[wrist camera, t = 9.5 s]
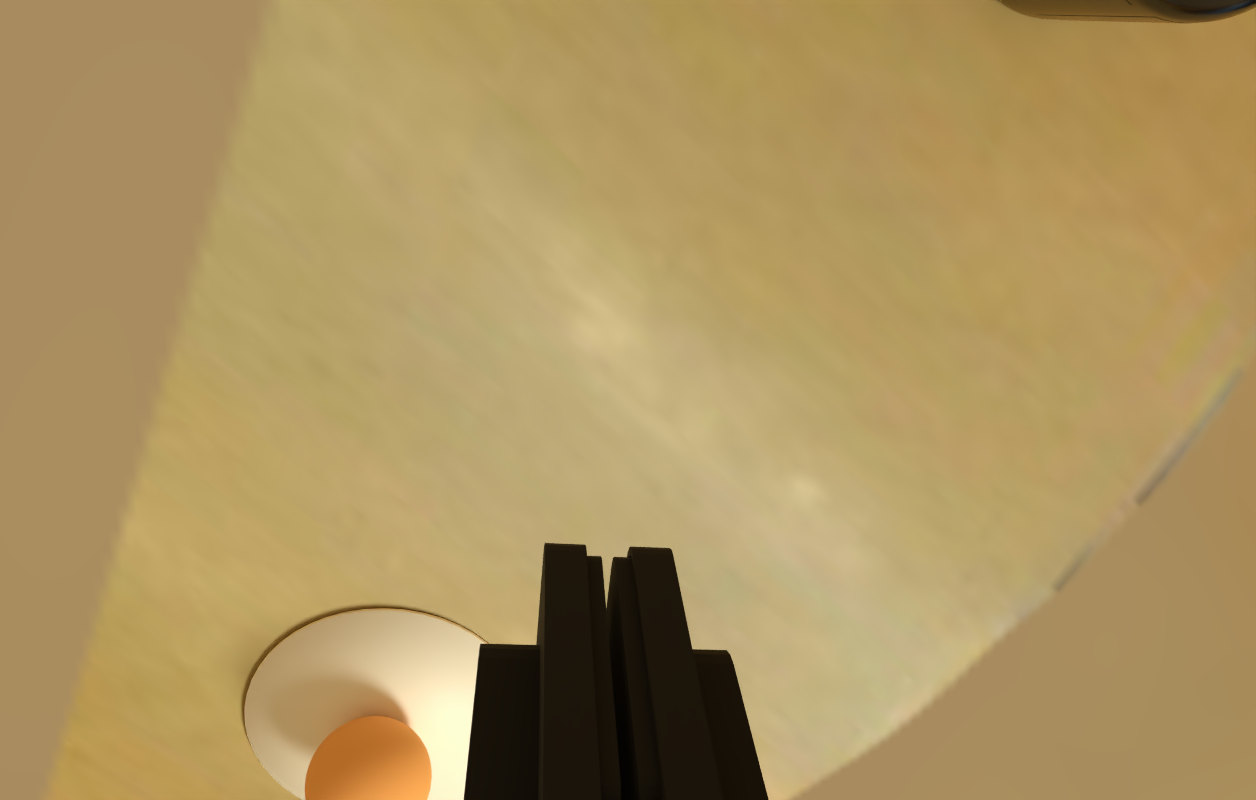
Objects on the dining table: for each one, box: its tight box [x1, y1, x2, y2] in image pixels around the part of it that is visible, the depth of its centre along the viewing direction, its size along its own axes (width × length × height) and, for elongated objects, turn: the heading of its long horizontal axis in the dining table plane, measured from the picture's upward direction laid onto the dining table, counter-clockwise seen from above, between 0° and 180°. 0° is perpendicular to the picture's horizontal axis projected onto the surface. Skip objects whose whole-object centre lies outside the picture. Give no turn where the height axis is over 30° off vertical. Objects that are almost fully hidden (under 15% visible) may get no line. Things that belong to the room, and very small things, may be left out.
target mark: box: [244, 608, 488, 800], centre depth 42 cm, size 13×13×1 cm
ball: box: [305, 716, 432, 800], centre depth 40 cm, size 6×6×6 cm
